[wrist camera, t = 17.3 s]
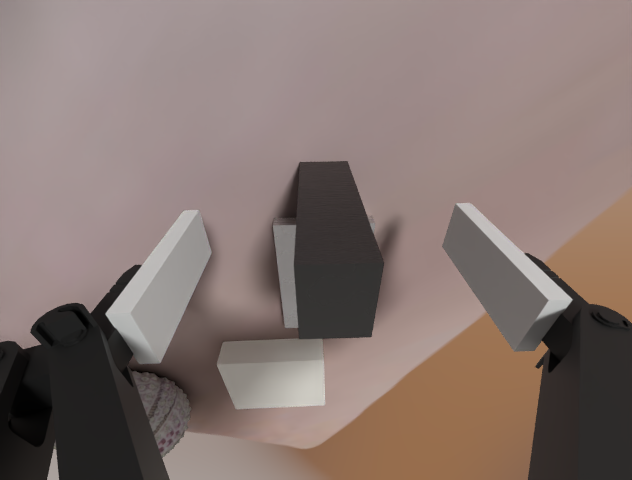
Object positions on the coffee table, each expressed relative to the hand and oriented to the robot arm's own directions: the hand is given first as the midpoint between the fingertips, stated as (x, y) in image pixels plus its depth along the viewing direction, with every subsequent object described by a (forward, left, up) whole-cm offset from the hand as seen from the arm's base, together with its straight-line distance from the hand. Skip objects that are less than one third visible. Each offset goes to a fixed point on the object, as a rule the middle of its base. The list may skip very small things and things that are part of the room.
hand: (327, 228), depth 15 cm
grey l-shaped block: (0, -6, -5) cm, 7 cm away
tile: (-5, -16, -4) cm, 17 cm away
